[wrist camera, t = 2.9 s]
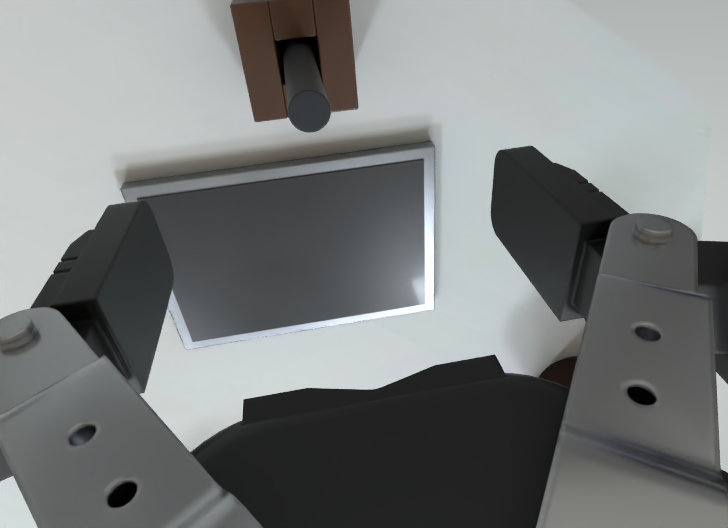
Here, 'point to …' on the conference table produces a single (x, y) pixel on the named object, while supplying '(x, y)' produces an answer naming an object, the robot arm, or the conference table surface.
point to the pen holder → (289, 21)
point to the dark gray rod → (304, 86)
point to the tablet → (297, 242)
